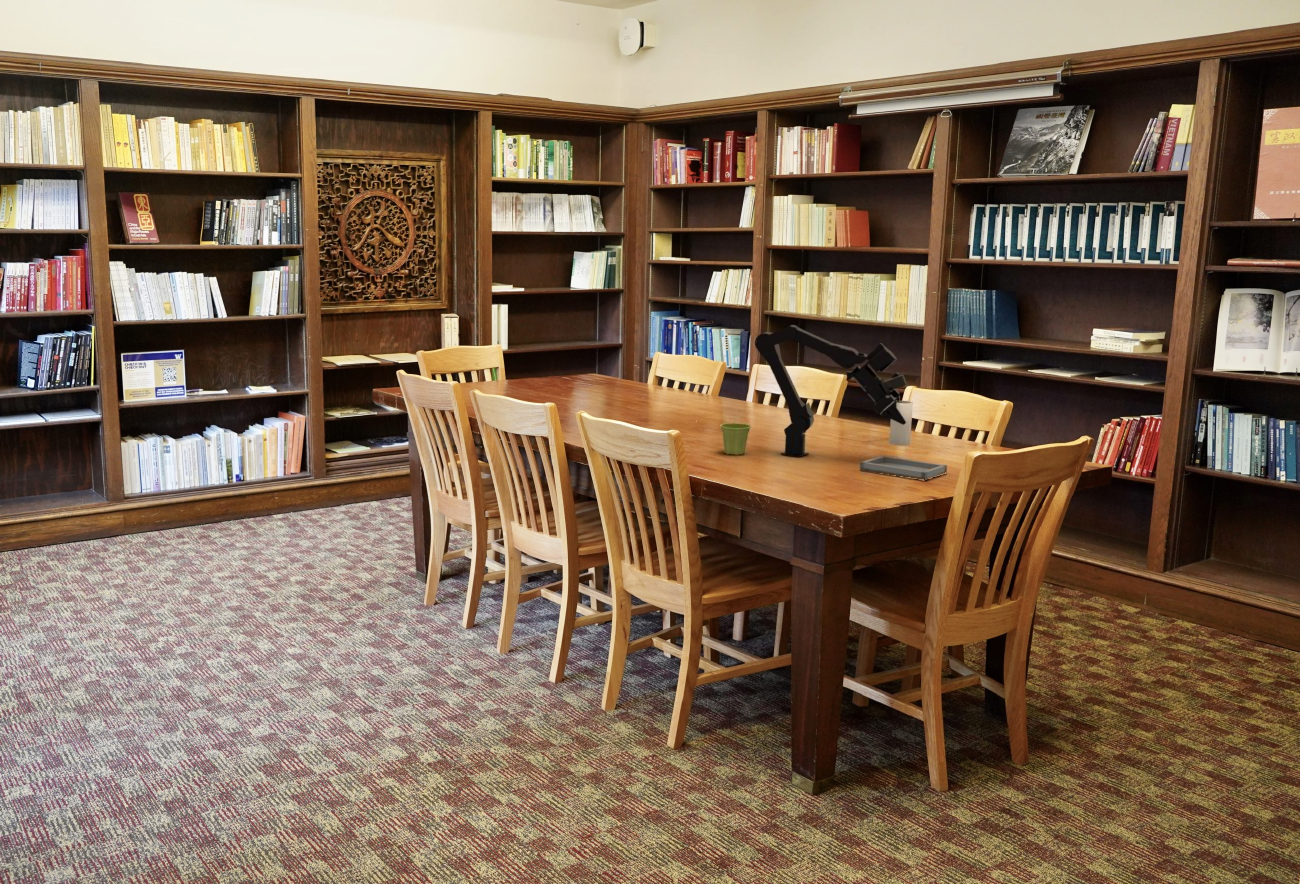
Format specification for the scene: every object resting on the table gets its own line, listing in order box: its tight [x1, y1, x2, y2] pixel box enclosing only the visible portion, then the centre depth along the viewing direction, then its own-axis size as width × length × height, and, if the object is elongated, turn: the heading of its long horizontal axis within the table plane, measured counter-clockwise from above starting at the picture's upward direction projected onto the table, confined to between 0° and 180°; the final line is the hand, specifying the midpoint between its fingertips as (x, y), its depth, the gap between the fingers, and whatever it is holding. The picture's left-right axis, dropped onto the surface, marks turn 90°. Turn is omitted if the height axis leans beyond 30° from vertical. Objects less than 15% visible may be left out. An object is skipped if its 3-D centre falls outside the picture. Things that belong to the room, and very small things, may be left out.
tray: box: [859, 455, 948, 480], centre depth 318 cm, size 14×20×2 cm
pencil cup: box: [889, 400, 914, 447], centre depth 329 cm, size 6×6×12 cm
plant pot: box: [719, 422, 752, 455], centre depth 339 cm, size 9×9×9 cm
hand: (905, 422), depth 329 cm, fingers closed on pencil cup, 6 cm apart
